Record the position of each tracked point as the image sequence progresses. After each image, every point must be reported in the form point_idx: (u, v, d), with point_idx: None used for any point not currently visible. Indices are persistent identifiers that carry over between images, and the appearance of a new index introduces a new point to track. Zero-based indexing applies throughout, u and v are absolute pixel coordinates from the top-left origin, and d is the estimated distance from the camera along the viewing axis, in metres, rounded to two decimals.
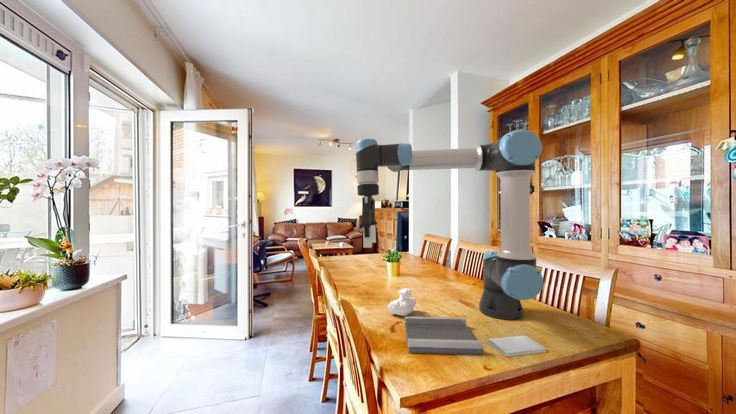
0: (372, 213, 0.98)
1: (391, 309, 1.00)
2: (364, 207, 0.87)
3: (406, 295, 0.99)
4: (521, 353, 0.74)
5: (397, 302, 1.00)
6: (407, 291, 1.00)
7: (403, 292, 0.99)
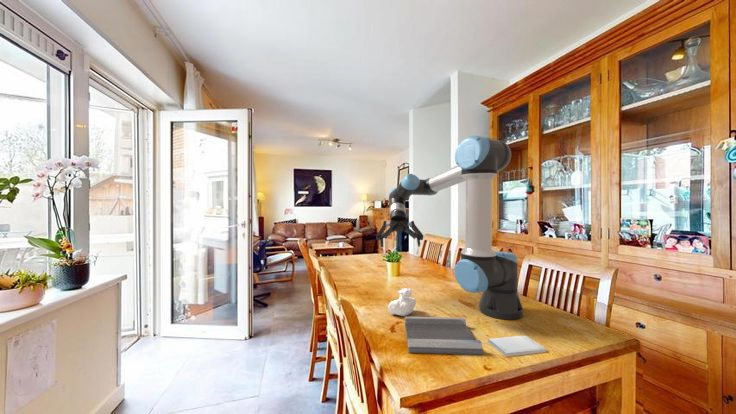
0: (408, 230, 1.19)
1: (391, 309, 1.00)
2: None
3: (406, 295, 0.99)
4: (521, 353, 0.74)
5: (397, 302, 1.00)
6: (407, 291, 1.00)
7: (403, 292, 0.99)
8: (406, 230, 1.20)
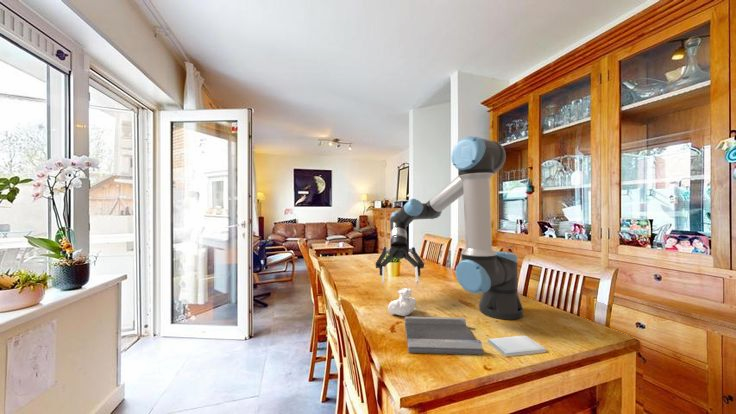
0: (408, 258, 1.15)
1: (391, 309, 1.00)
2: None
3: (406, 295, 0.99)
4: (520, 353, 0.74)
5: (397, 302, 1.00)
6: (407, 291, 1.00)
7: (403, 292, 0.99)
8: (406, 257, 1.16)
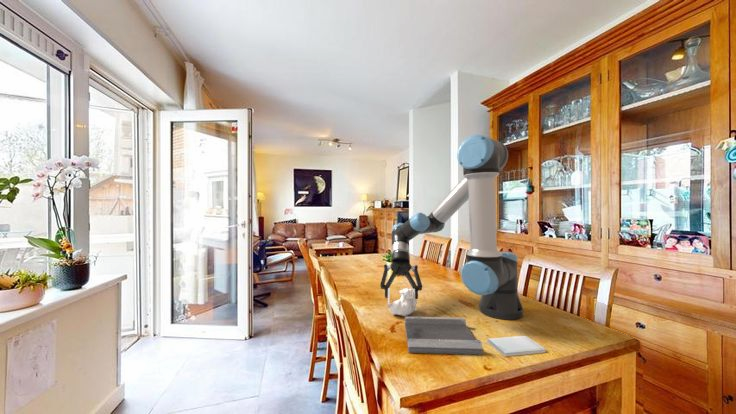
0: (408, 277, 1.07)
1: (392, 309, 1.00)
2: None
3: (407, 295, 0.99)
4: (520, 353, 0.74)
5: (398, 302, 1.00)
6: (408, 291, 0.99)
7: (404, 292, 0.99)
8: (406, 275, 1.08)
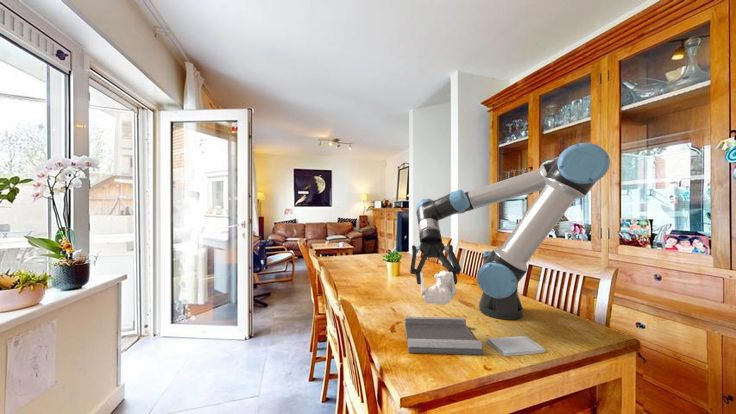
0: (442, 258, 0.88)
1: (427, 296, 0.81)
2: None
3: (446, 279, 0.81)
4: (519, 353, 0.74)
5: (435, 288, 0.81)
6: (447, 274, 0.81)
7: (442, 275, 0.81)
8: (440, 257, 0.89)
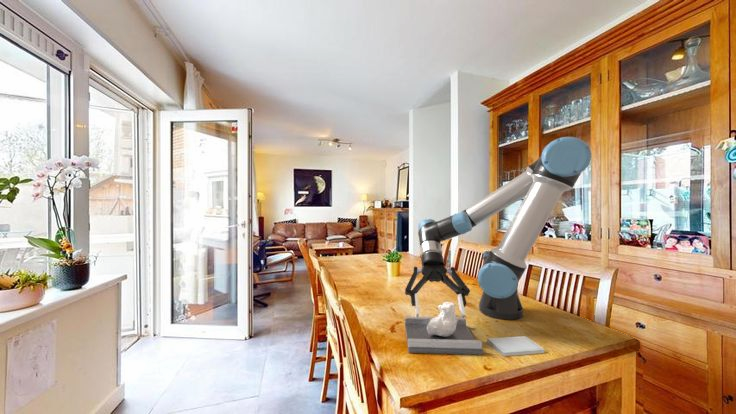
0: (447, 282, 0.88)
1: (431, 329, 0.81)
2: None
3: (450, 311, 0.80)
4: (519, 353, 0.74)
5: (439, 320, 0.81)
6: (451, 306, 0.81)
7: (446, 308, 0.80)
8: (445, 281, 0.89)
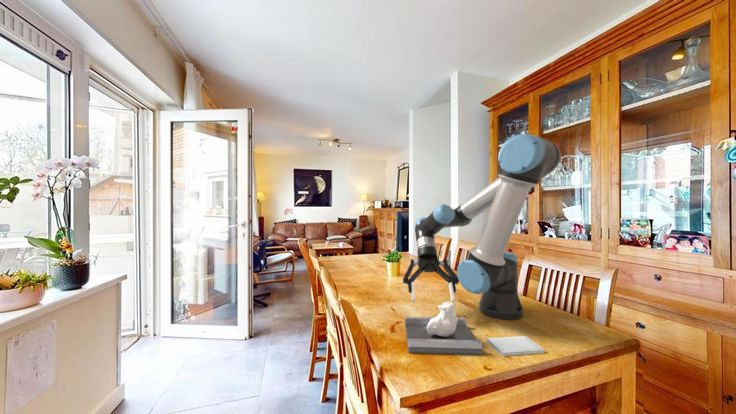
0: (440, 272, 1.01)
1: (431, 329, 0.81)
2: None
3: (450, 311, 0.80)
4: (518, 353, 0.74)
5: (439, 320, 0.81)
6: (451, 306, 0.81)
7: (446, 308, 0.80)
8: (438, 271, 1.02)
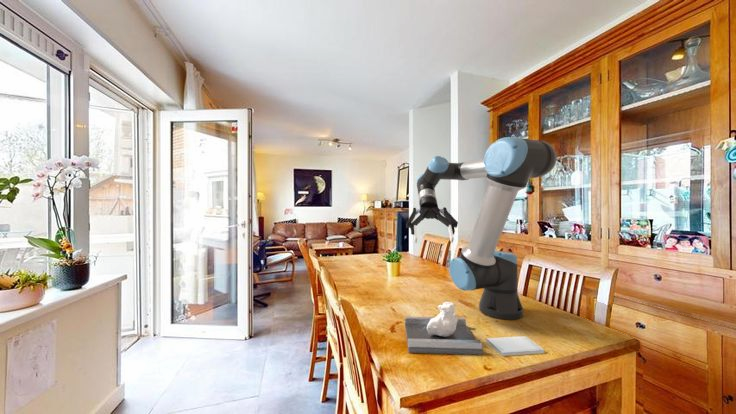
0: (440, 217, 1.10)
1: (431, 329, 0.81)
2: None
3: (450, 311, 0.80)
4: (518, 353, 0.74)
5: (439, 320, 0.81)
6: (451, 306, 0.81)
7: (446, 308, 0.80)
8: (438, 217, 1.11)
